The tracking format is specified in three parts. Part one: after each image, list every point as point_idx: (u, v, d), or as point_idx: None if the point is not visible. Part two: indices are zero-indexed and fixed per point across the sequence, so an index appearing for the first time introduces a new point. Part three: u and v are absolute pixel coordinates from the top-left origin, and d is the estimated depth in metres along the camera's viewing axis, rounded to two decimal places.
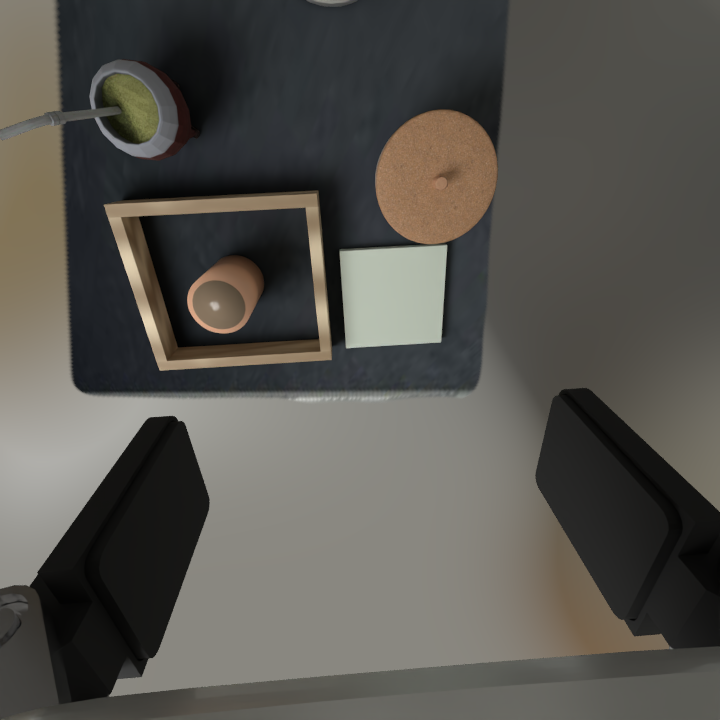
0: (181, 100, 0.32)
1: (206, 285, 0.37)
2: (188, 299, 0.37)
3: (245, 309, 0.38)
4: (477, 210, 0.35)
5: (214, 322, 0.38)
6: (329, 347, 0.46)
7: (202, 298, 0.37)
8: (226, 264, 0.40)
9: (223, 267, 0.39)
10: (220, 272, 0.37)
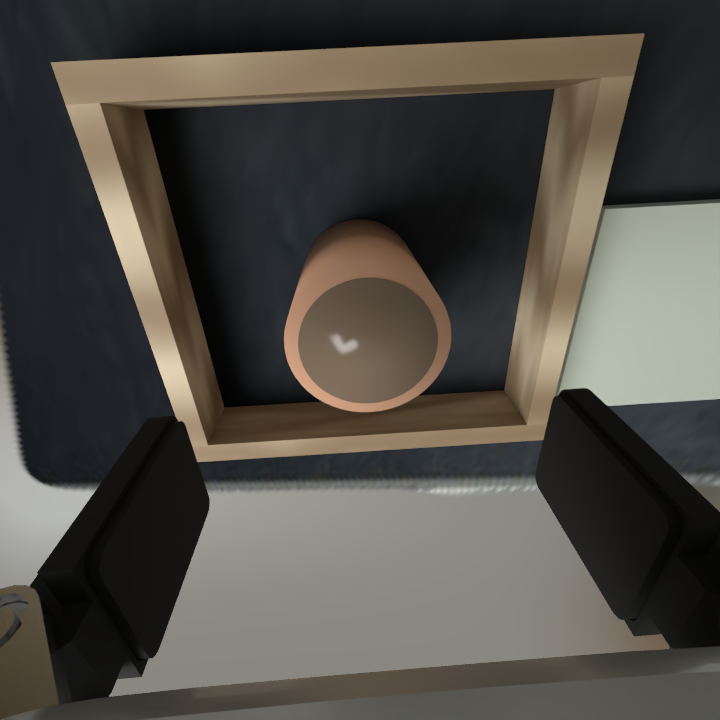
0: None
1: (343, 291, 0.13)
2: (287, 330, 0.14)
3: (435, 355, 0.14)
4: None
5: (348, 387, 0.15)
6: (547, 417, 0.22)
7: (325, 327, 0.14)
8: (367, 236, 0.16)
9: (369, 243, 0.15)
10: (377, 255, 0.13)
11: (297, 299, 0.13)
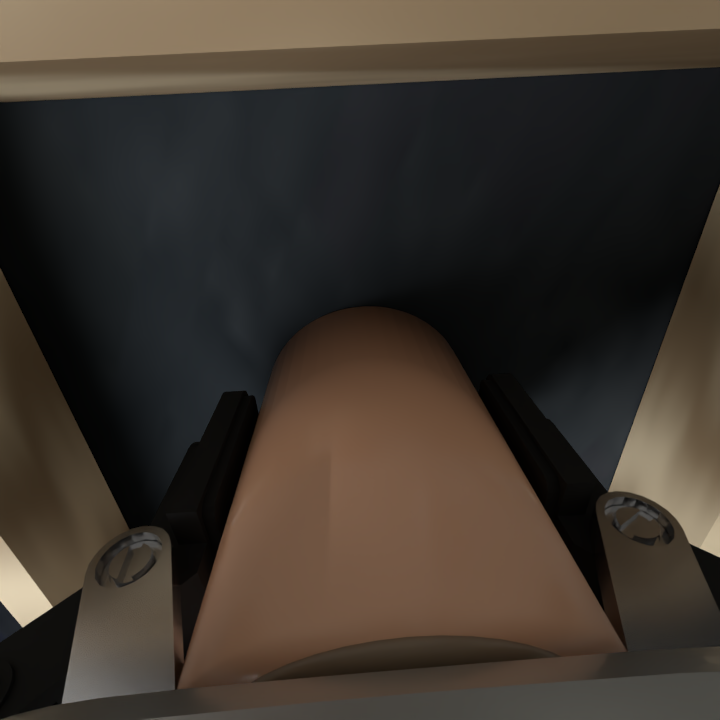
0: None
1: (337, 664, 0.04)
2: None
3: None
4: None
5: None
6: None
7: None
8: (392, 384, 0.07)
9: (400, 423, 0.06)
10: (436, 520, 0.04)
11: (192, 679, 0.04)
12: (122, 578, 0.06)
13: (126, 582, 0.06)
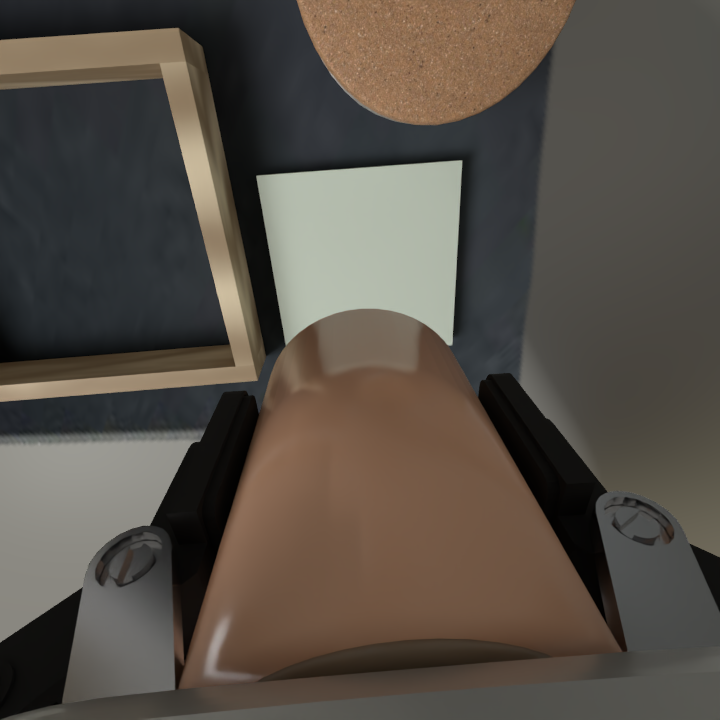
0: None
1: (336, 667, 0.04)
2: None
3: None
4: (541, 27, 0.14)
5: None
6: (250, 358, 0.25)
7: None
8: (391, 387, 0.07)
9: (399, 427, 0.06)
10: (435, 524, 0.05)
11: (192, 682, 0.04)
12: (122, 578, 0.06)
13: (126, 582, 0.06)
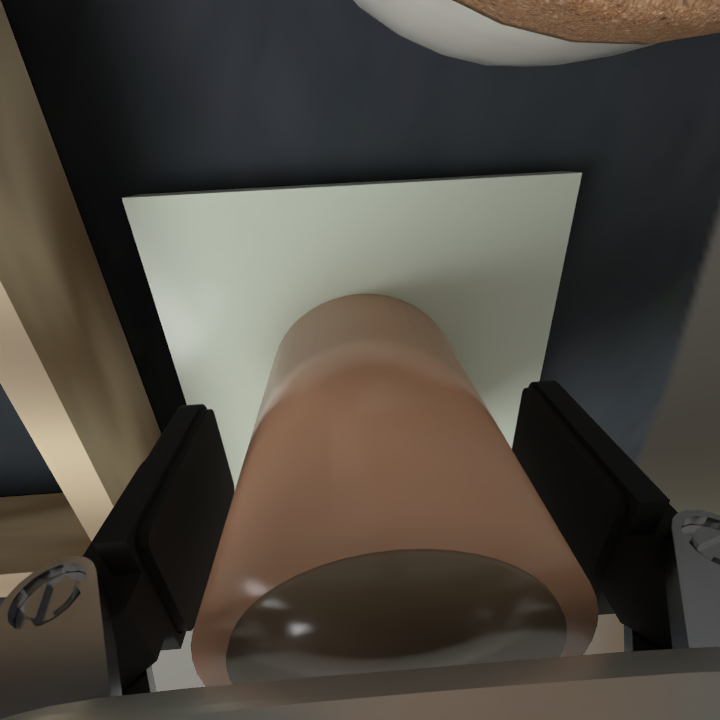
0: None
1: (338, 576, 0.05)
2: (198, 643, 0.05)
3: None
4: None
5: None
6: None
7: (294, 635, 0.05)
8: (386, 358, 0.08)
9: (393, 389, 0.07)
10: (422, 461, 0.05)
11: (216, 591, 0.05)
12: (41, 616, 0.05)
13: (47, 619, 0.05)
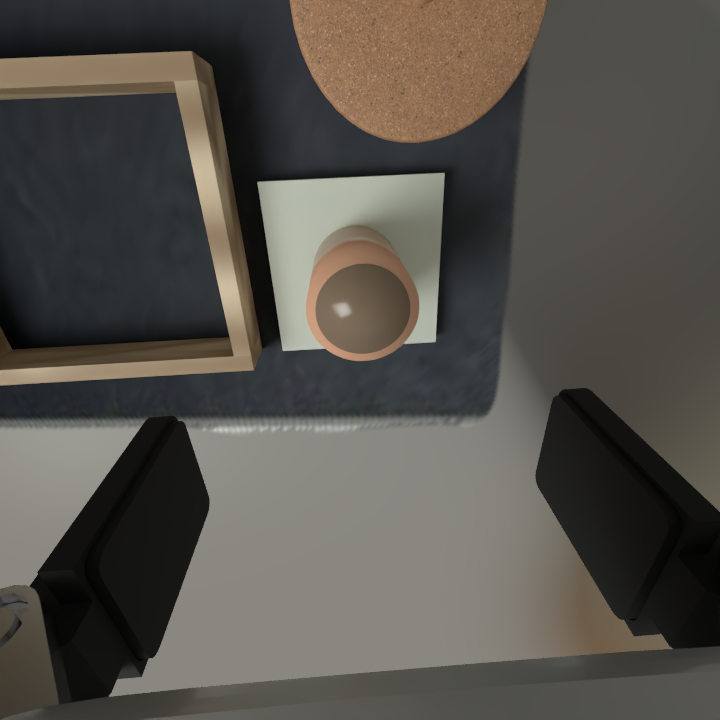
0: None
1: (347, 273, 0.19)
2: (308, 299, 0.20)
3: (408, 319, 0.21)
4: (506, 63, 0.17)
5: (348, 341, 0.21)
6: (248, 349, 0.27)
7: (334, 297, 0.20)
8: (363, 238, 0.22)
9: (364, 242, 0.21)
10: (369, 249, 0.20)
11: (316, 277, 0.19)
12: None
13: None
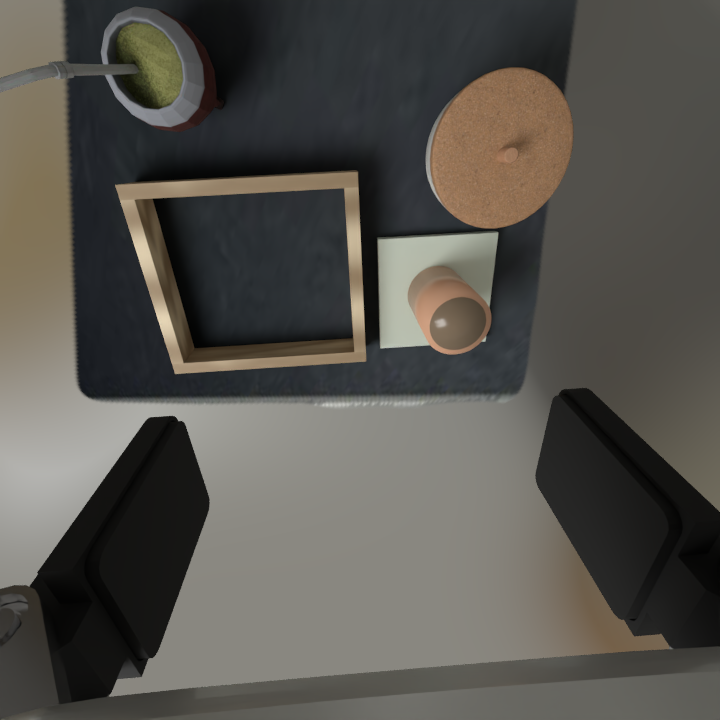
0: (207, 59, 0.27)
1: (452, 302, 0.33)
2: (427, 316, 0.33)
3: (484, 329, 0.34)
4: (546, 188, 0.30)
5: (446, 342, 0.35)
6: (364, 347, 0.41)
7: (442, 316, 0.34)
8: (452, 277, 0.36)
9: (456, 281, 0.35)
10: (464, 288, 0.33)
11: (433, 304, 0.33)
12: None
13: None
